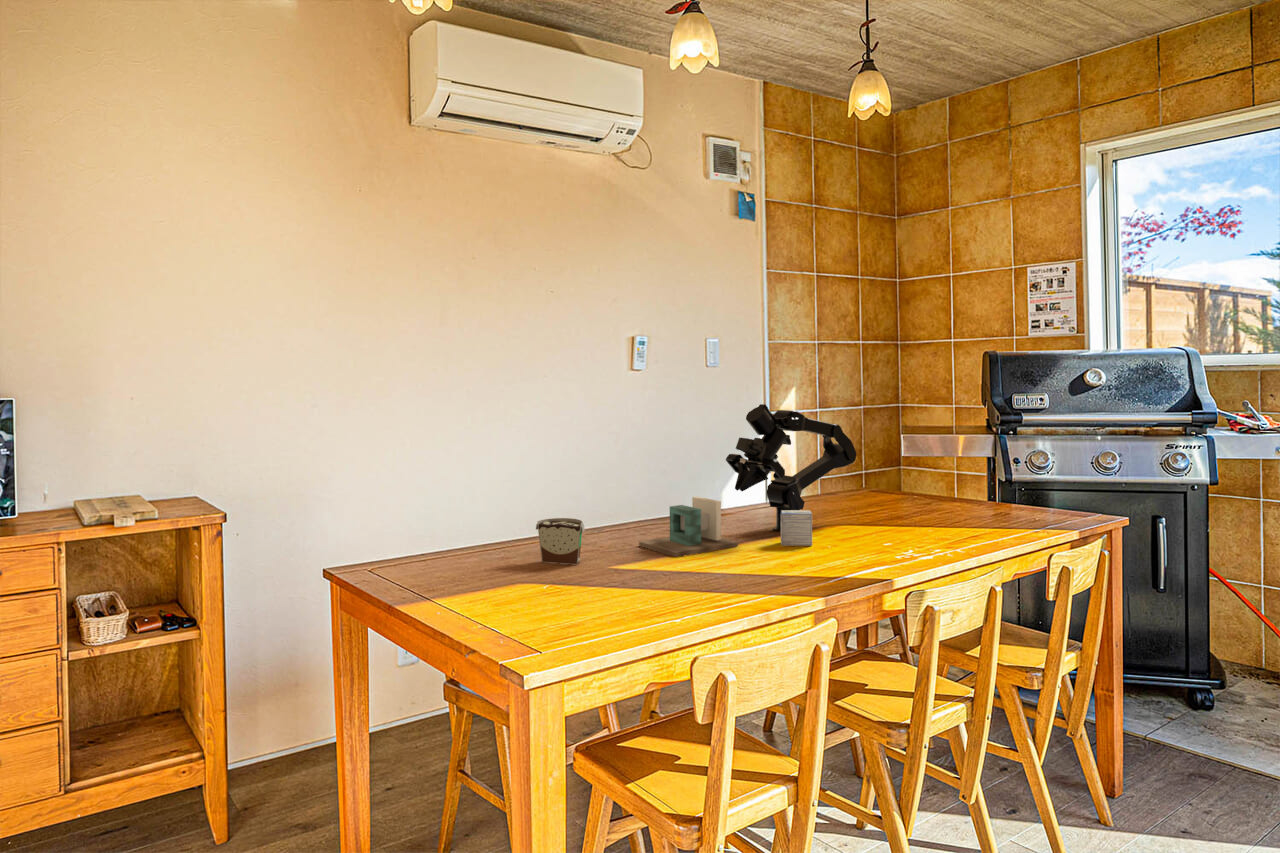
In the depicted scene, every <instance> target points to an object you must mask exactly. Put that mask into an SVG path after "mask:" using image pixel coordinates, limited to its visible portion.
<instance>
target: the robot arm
mask: <svg viewBox="0 0 1280 853" xmlns="http://www.w3.org/2000/svg"><path fill="white" fill-rule="evenodd" d="M745 420H746V421H747V423H748V424H749V425H750V427H751V428H752V429H753V430H754V432H755V433H756V434H757V435H758V436H762V437H761V438H760V437H754V438H752V439H751V438H748V437H746V438H745V437H739V438H738V441H737V443H736V447H735V449H736V450H737V451H741V452H743V453H744V454H743V456H744V457H743V456H742V455H741V454H738V453H737V454H736V453H729V454H728V455H727V456H726V458H725V461H726V463H727V464H728V465H729V466H730V467H731V469H732V470H733V471H734V472H735V473H737V479H736V482H735V486H734V489H735V491H740V492H745V491H746V490H748V489H750V488H752V487H753V486H756V485H758V484H759V483H761V482H764V481H768V480H769V477H768V475H770V474H771V473H772V472H773V474H772V477H773V479H772V480H770V483H769V484H768V486H767V489H766V497H767V500H768V503H769V507H770V508H776V510H775V512H776V514H775V515H776V516H775V518H776V522H775V523H776V524H775V525H776V526H774V527H773V528H772V529H771V530H772V531H776V532H781V510H803V509H804V507H805V500H804V499H803V498H802V496H801V495H802V493H803V492H802V491H803V490H805V489H806V488H808V487H809V486H810V485H813V483H815V482H817V481H818V480H819V479H821V478H823V477H824V476H825V475H826V474H828V473H830V472H831V471H833V470H835V469H839V468H840V469H841V468H845V467H847V466H849V465H852V464H853V463H855V462H856V458H857V456H858V455H857V450H856V448H855V446H854V444H853V442H852V440H851V439H850V438H849V437H848V436H847V434H845V432H844V431H843V428H842V427H841V426H840V425H839V424H837V423H830V422H826V421H825V422H824V421H821V420H817V419H813V418H808V417H806V416H805V415H804V414H803V413H801V412H799V411H797V410H789V409H787V410H786V409H777V410H776V411H775V413H772V412H771V410H769V407H768V405H766V404H765V403H764V404H762V403H760V404H759V405H758V406H757V407H754V408H753V409H751V410H749V411H748V413H747V414H746V416H745ZM785 431H786V432H801V431H802V432H805V433H810V434H815V435H820V436H822V438H823V439H822V441H823V442H822V447H823V449H824V450H823V453H822V456H821V457H819V458H818V459H816V460H815V461H813V462H812V463H810V464H808V465H807V466H806V467H805V468H803V469H801V470H800V471H798V472H797V473H795V474H794V475H786V470H785V468H784V467H783V465H782V464H781V463H780V462H779V460H778V458H779V456H778V452H779V451H780V449H781V448H782V446H783V445H785V446H791V444H792V441H791V436H790V434H787V433H786V432H785ZM833 438H834V440H835V441H836V442H837V443H836V442H835V443H834V441H833V440H832V439H833Z"/></svg>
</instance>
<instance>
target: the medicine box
mask: <svg viewBox="0 0 1280 853" xmlns="http://www.w3.org/2000/svg"><path fill="white" fill-rule="evenodd" d="M780 544H781V546H782V547H783V546H785V547H786V546H787V547H789V546H794V547H797V546H798V547H799V546H801V547H803V546H805V547H806V546H807V547H811V546H813V513H812V511H811V510H807V509H806V510H805V509H804V510H803V509H801V510H781V531H780Z"/></svg>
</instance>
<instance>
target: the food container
mask: <svg viewBox="0 0 1280 853" xmlns="http://www.w3.org/2000/svg"><path fill="white" fill-rule="evenodd" d="M535 530H537V531H538V540H539V548H540V549H539V550H540V555H541V556H540V558H541V563H542V562H549V563H548V564H555V563H560V565H568V564H572V565H573V566H578V564H579V565H580V561H581V548H582V537H583V533H584V532H585V531H586V528H585V525H584V522H583V521H582V519H577V518H568V517H555V518H545V519H540V520H537V523H536V525H535ZM572 565H571V566H572Z"/></svg>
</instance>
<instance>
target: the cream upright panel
mask: <svg viewBox="0 0 1280 853" xmlns="http://www.w3.org/2000/svg"><path fill="white" fill-rule="evenodd" d="M691 501H692V502H691V507H694V508H698V509H701V536H702V537H705V538H709V539H713V540H721V538H722V501H721V500H716V499H710V498H707V497H702V496H701V497H700V496H693V497H692V498H691ZM680 526H681V530H684V531H685V516H682V515H680Z"/></svg>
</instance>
